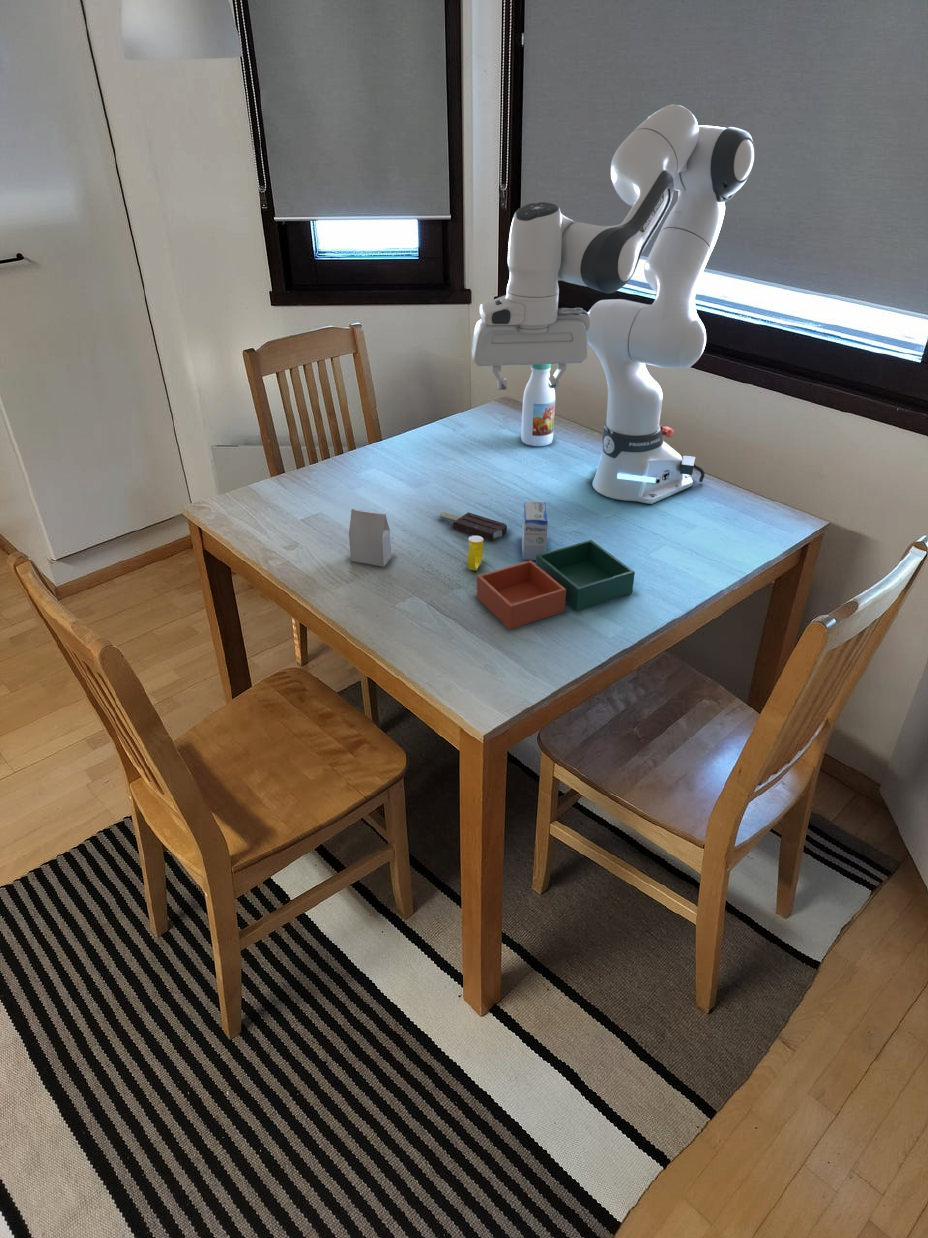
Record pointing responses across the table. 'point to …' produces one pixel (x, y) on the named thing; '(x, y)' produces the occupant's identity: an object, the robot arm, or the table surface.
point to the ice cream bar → (477, 525)
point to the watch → (475, 552)
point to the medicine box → (534, 530)
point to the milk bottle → (538, 408)
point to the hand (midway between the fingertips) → (527, 387)
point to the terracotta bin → (521, 594)
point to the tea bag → (369, 538)
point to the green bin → (587, 574)
